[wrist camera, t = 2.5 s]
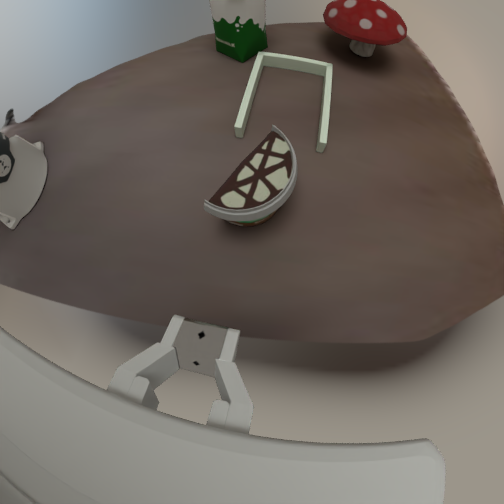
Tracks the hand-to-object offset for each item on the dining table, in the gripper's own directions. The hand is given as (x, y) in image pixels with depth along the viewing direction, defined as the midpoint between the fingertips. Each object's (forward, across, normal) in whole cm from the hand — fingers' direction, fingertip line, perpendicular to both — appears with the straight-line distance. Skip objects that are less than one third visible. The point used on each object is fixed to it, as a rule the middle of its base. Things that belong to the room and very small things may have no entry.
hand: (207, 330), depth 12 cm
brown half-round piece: (+26, 0, +7) cm, 27 cm away
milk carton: (+49, +10, -16) cm, 52 cm away
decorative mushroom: (+53, -12, -20) cm, 58 cm away
